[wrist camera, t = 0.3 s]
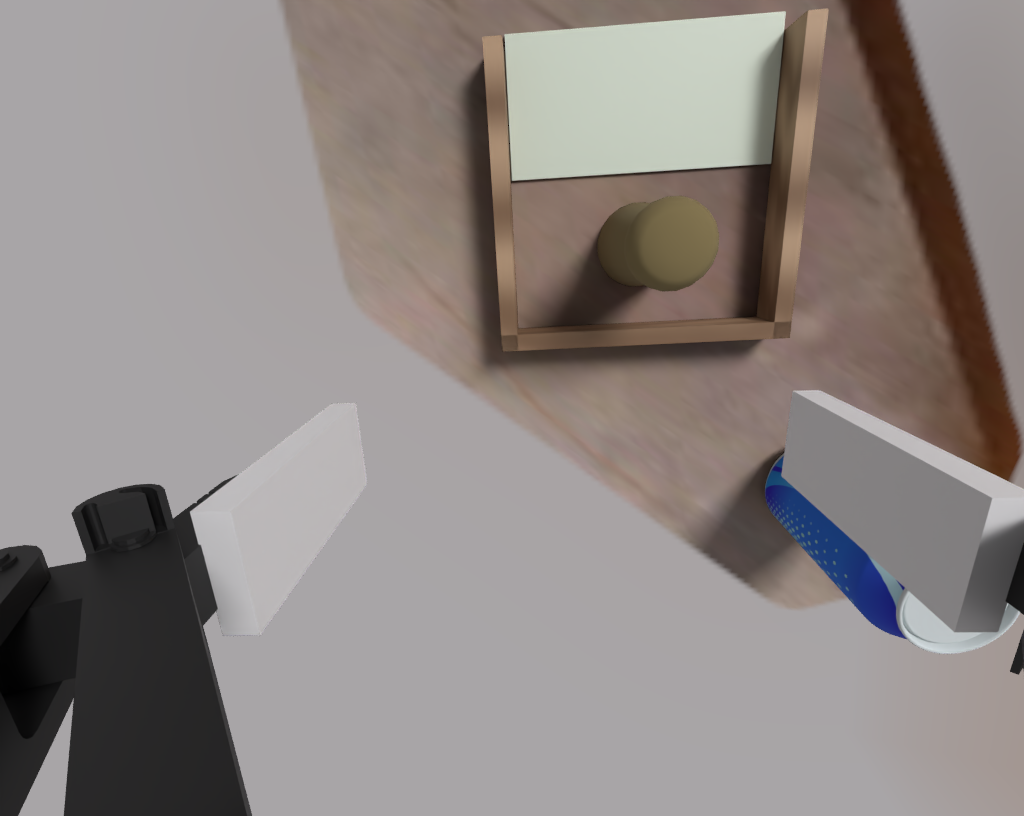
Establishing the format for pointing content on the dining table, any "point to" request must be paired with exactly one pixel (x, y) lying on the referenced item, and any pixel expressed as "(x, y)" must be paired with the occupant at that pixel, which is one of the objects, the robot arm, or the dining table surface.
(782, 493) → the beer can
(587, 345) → the bay
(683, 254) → the olive chess pawn
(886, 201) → the dining table surface
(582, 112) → the front pad
